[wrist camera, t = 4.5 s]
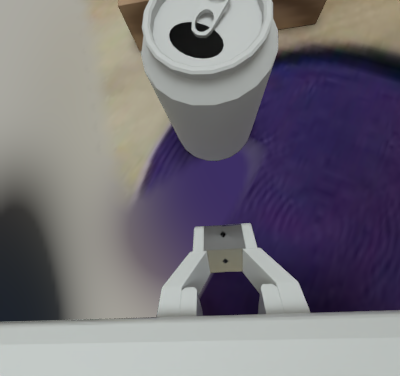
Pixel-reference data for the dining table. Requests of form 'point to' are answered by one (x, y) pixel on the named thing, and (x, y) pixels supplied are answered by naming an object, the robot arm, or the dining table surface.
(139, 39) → the wooden block
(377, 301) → the dining table surface
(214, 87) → the can
